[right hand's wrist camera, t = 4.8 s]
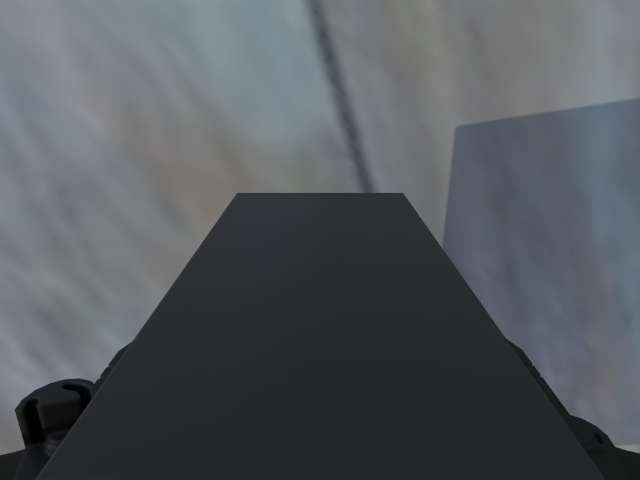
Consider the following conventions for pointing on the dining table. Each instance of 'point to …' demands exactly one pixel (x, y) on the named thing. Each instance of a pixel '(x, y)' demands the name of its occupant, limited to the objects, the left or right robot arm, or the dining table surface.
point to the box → (320, 362)
